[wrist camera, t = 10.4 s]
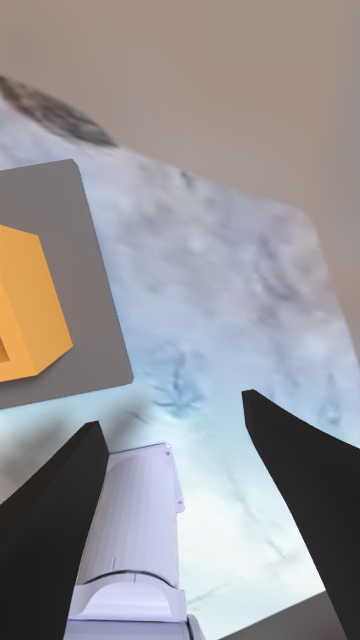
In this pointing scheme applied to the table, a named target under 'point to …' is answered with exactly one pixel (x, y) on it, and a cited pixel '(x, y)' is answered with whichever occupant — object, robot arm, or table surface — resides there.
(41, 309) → the orange link
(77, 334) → the hook board
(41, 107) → the table surface
